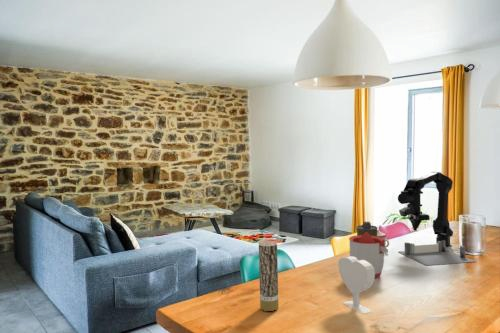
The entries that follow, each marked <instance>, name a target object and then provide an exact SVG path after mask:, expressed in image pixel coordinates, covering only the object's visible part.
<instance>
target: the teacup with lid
mask: <svg viewBox="0 0 500 333" xmlns="http://www.w3.org/2000/svg"><path fill="white" fill-rule="evenodd" d="M386 236H387V235H386V233H384V232H382V231H380V229H379V228H377V237H381V238H383V239H384V244H385V248H388V247H389V246H390V241H389V239H387V238H386Z"/></svg>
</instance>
